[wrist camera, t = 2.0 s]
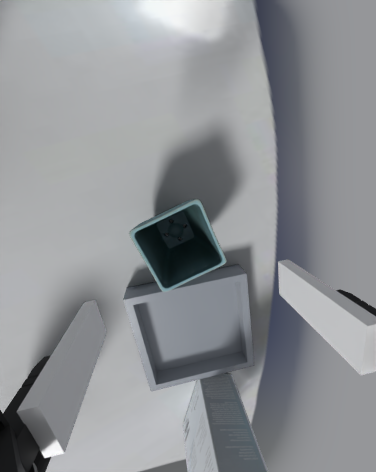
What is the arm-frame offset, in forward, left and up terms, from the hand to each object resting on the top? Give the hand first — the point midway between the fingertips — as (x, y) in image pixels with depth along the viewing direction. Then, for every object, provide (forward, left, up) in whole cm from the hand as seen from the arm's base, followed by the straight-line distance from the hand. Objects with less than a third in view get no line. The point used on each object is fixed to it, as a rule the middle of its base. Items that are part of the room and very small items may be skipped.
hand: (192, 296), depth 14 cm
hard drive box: (+38, 0, -19) cm, 43 cm away
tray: (+18, 0, -18) cm, 26 cm away
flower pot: (0, 0, -19) cm, 19 cm away
